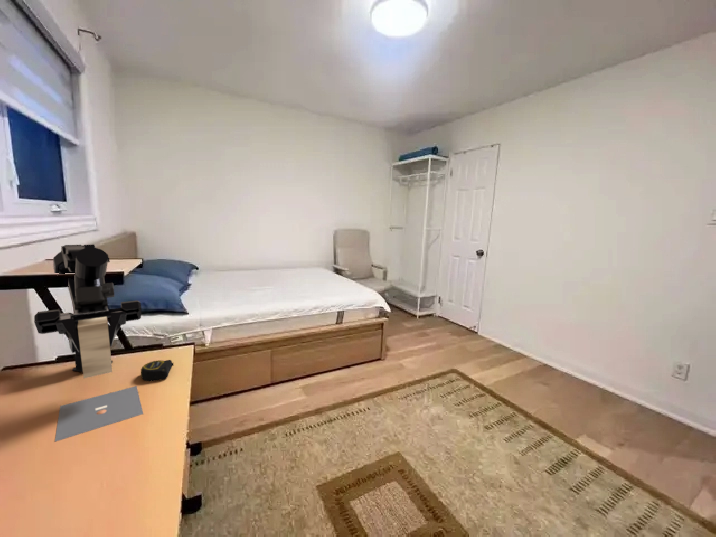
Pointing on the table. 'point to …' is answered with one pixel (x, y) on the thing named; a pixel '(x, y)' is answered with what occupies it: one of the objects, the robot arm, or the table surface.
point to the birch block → (94, 346)
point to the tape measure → (156, 370)
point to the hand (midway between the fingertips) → (95, 348)
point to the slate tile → (97, 412)
